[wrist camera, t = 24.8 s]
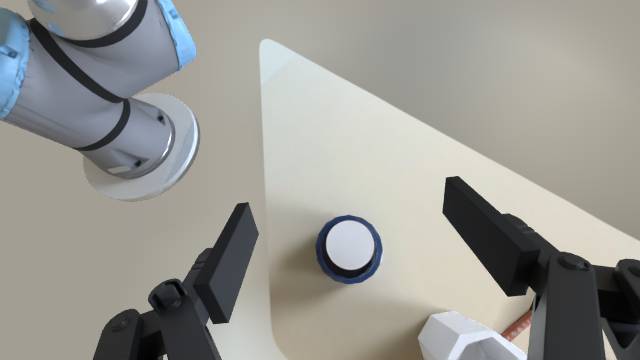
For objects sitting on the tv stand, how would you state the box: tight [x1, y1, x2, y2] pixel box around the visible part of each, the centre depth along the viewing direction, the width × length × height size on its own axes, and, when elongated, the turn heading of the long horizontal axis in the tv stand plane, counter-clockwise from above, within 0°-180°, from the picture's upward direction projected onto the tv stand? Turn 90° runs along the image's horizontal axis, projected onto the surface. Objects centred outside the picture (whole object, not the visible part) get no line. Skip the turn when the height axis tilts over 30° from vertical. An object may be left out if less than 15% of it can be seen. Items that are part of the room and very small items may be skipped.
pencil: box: [501, 310, 532, 342], centre depth 31 cm, size 19×1×1 cm, turn 125°
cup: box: [316, 215, 383, 284], centre depth 34 cm, size 8×8×6 cm
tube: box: [326, 220, 374, 270], centre depth 29 cm, size 4×4×15 cm
